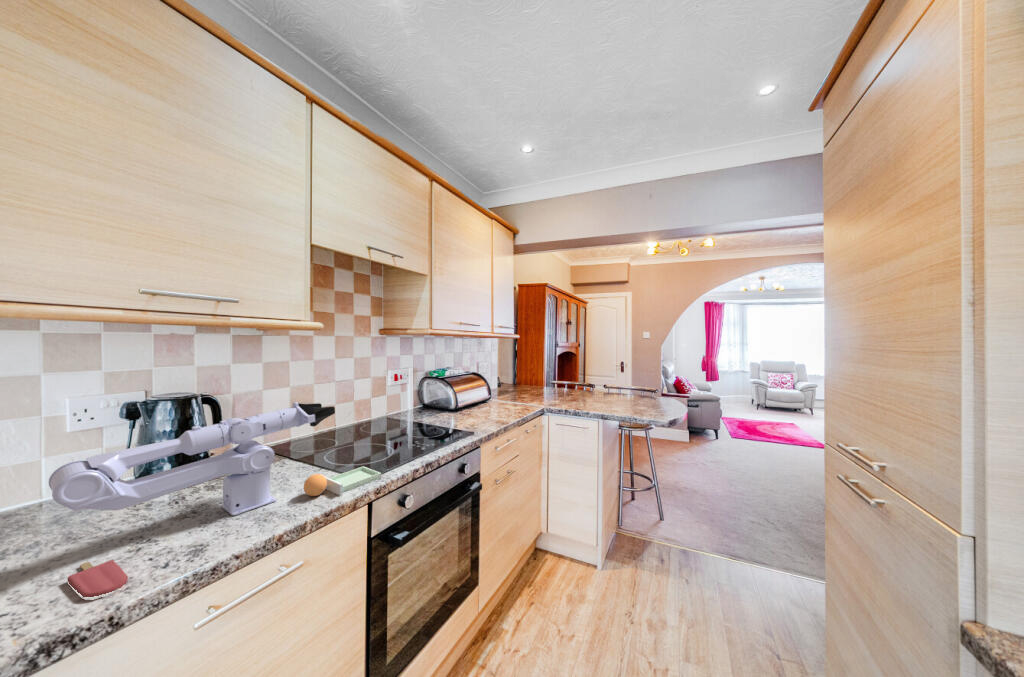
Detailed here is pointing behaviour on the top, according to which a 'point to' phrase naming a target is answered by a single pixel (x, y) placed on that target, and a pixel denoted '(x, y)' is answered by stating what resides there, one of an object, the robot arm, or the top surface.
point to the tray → (356, 477)
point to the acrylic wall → (334, 486)
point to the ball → (315, 485)
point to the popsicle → (98, 579)
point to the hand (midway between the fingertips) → (327, 408)
